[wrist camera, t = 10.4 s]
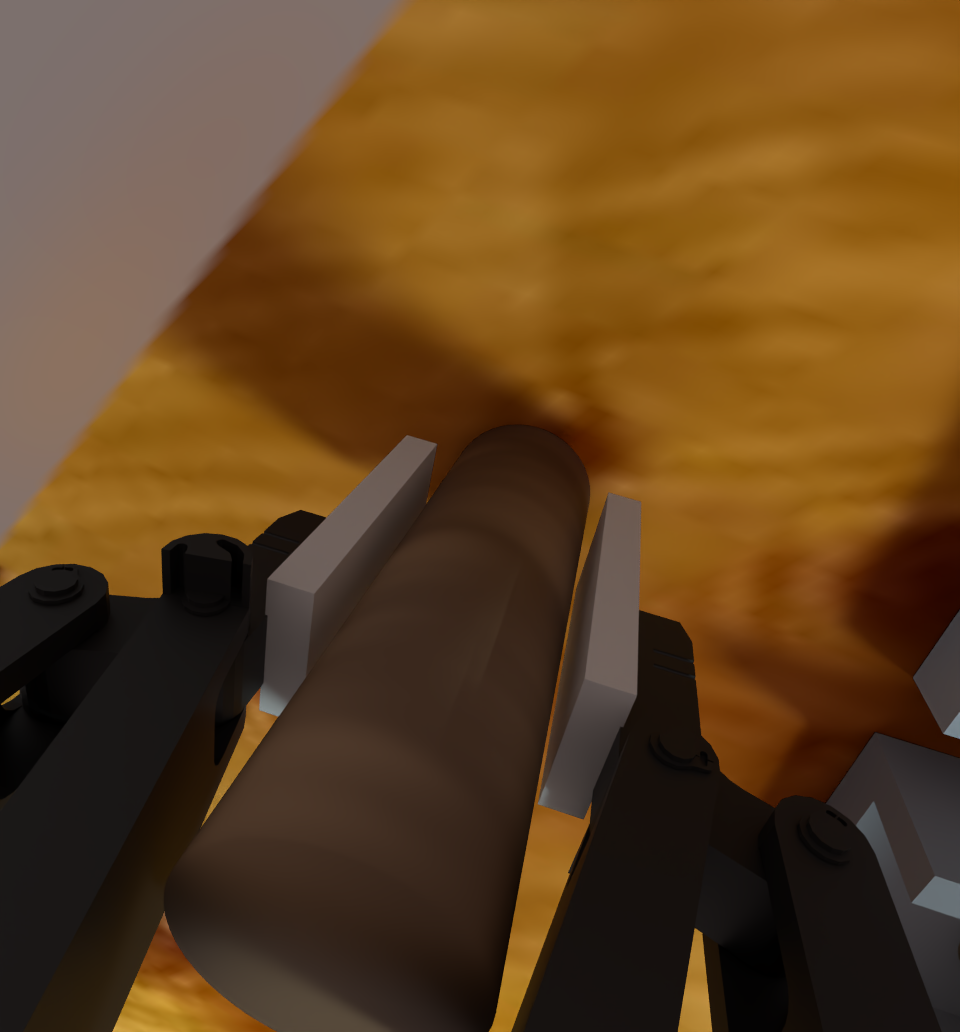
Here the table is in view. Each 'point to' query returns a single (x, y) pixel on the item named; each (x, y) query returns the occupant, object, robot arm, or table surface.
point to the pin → (401, 772)
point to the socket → (943, 680)
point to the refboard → (915, 852)
